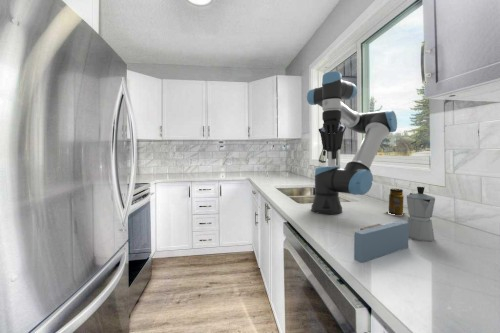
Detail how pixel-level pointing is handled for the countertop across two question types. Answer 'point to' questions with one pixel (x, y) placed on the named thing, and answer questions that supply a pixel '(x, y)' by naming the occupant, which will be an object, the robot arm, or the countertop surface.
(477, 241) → the countertop surface
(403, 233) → the slate board
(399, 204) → the condiment
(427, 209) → the coffee maker
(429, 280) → the countertop surface
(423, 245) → the countertop surface
